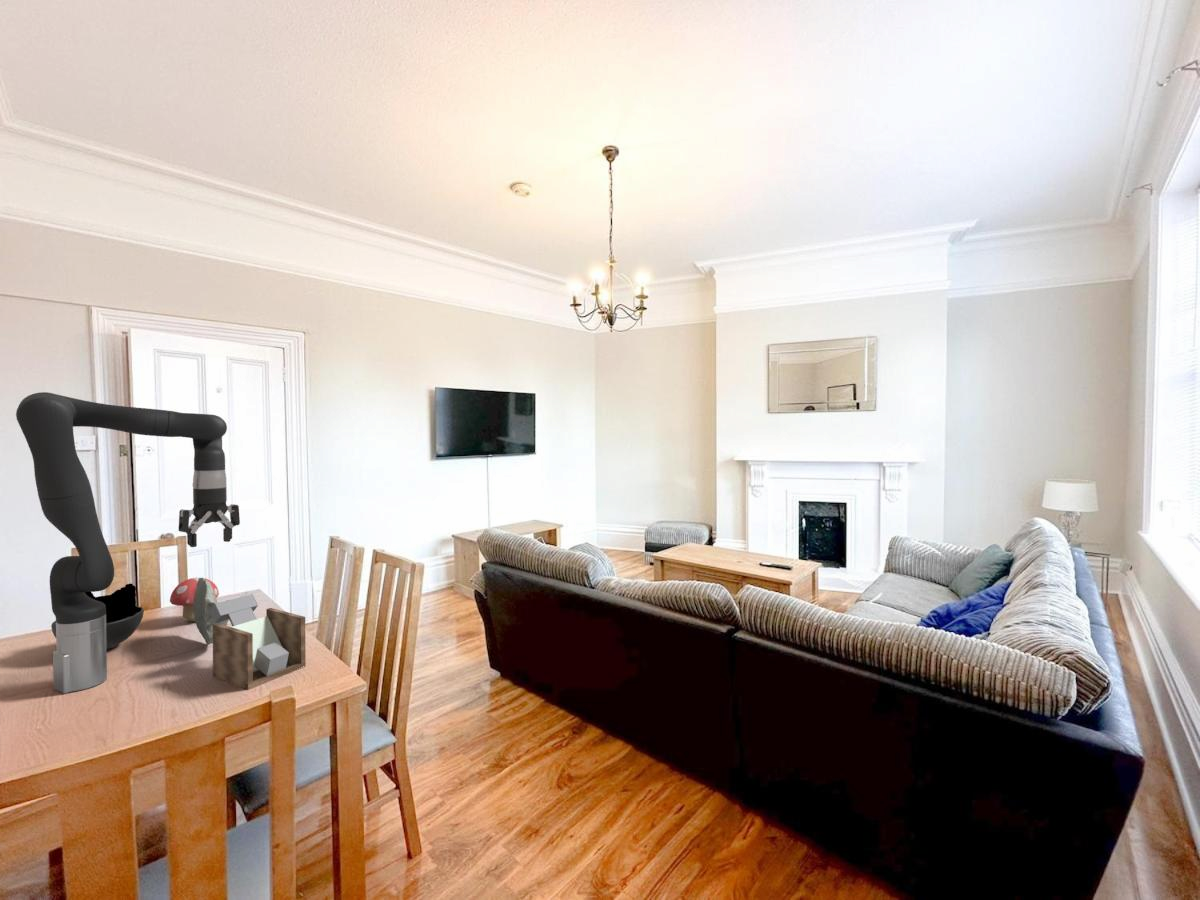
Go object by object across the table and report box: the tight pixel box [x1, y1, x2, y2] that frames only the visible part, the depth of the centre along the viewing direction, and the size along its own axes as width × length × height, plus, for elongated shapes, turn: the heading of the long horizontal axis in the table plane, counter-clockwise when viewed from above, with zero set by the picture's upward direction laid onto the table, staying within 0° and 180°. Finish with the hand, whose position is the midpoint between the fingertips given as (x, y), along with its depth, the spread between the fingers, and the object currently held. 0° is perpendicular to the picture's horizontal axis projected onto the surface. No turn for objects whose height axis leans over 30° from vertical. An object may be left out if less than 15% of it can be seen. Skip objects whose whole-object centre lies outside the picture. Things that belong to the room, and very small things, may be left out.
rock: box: [193, 577, 229, 645], centre depth 162 cm, size 27×6×20 cm, turn 48°
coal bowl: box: [50, 583, 145, 650], centre depth 158 cm, size 20×20×19 cm
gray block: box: [254, 642, 289, 676], centre depth 142 cm, size 5×5×6 cm
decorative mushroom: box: [169, 577, 220, 623], centre depth 182 cm, size 13×13×15 cm
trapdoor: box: [209, 593, 282, 673], centre depth 148 cm, size 22×12×4 cm
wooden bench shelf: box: [212, 607, 306, 690], centre depth 145 cm, size 16×15×14 cm
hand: (210, 544), depth 148 cm, fingers open, 8 cm apart
